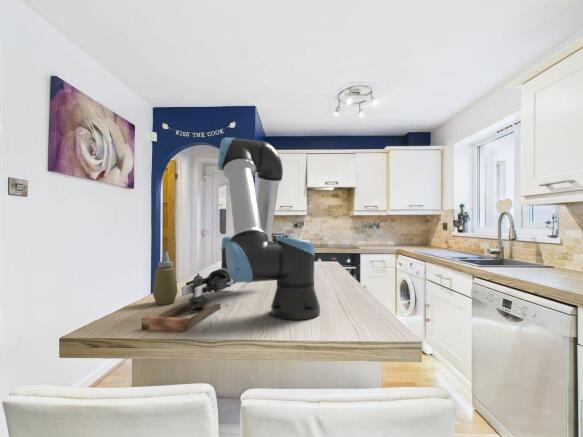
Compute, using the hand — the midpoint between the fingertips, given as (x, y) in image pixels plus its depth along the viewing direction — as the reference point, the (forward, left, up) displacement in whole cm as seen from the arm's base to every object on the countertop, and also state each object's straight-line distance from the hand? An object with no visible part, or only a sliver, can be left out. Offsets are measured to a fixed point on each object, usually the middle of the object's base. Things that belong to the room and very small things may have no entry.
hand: (189, 292), depth 91 cm
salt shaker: (0, -5, -7) cm, 9 cm away
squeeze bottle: (+16, -12, -7) cm, 21 cm away
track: (0, +2, -7) cm, 7 cm away
